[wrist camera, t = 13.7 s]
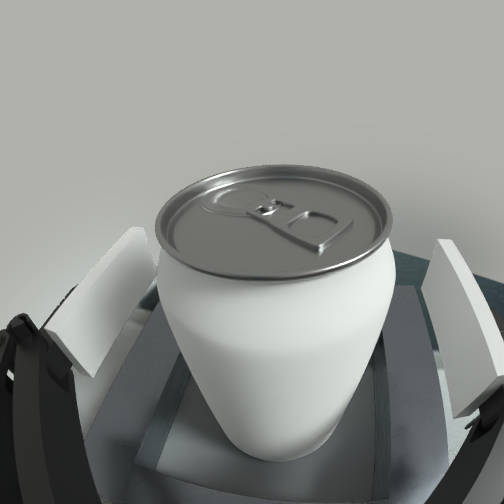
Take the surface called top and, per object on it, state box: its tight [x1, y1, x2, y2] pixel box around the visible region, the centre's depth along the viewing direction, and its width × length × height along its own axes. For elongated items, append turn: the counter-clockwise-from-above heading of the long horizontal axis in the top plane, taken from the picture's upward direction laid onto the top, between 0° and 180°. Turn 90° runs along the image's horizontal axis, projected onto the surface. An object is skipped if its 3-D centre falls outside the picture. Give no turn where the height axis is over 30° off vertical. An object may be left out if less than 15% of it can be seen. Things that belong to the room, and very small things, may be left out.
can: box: [155, 165, 396, 462], centre depth 10 cm, size 6×6×12 cm
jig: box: [84, 285, 449, 504], centre depth 13 cm, size 17×16×2 cm
